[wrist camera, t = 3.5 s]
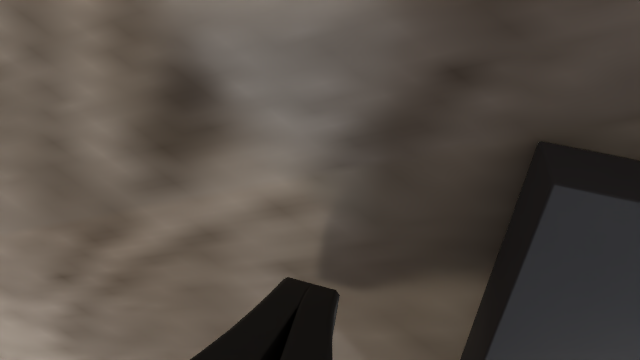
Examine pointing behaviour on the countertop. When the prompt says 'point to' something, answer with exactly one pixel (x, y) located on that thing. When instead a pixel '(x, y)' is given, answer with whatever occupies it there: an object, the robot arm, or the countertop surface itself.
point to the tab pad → (566, 264)
